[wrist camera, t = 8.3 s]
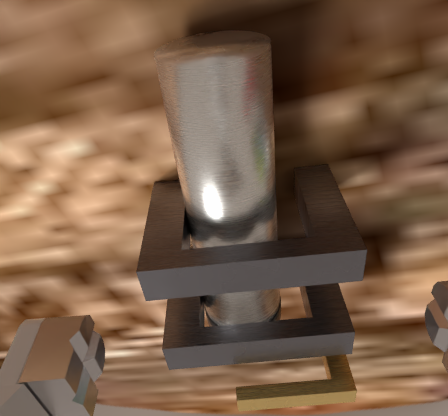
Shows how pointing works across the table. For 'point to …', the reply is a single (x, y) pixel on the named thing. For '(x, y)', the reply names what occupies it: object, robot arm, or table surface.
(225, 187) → the tube
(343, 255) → the collars
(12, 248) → the table surface
